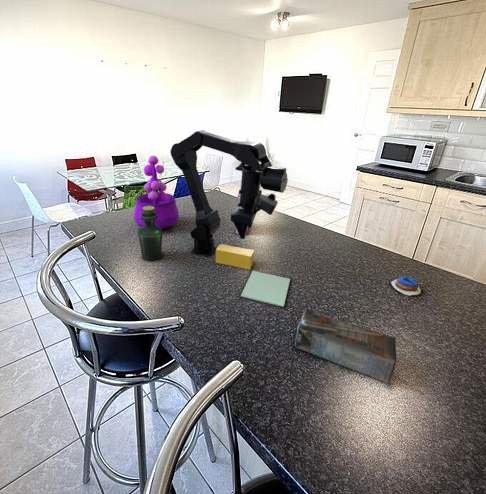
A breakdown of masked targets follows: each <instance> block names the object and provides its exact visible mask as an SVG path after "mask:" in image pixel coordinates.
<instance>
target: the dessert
mask: <svg viewBox="0 0 486 494" xmlns="http://www.w3.org/2000/svg"><path fill="white" fill-rule="evenodd" d="M390 284H391V286H392V287H393V288H394V289H395V290H396V291H398V292H399V293H401V294H403V295H405V296H419V295H420V294H421V293H422V289H421V288H420V284H419V283H418V281H417V279H416V278H412V277H409V276H407V275H405V274H403V275H402V276H399V277H398V278H397V279H396V278H395V279H394V280H392V281H391V283H390Z"/></svg>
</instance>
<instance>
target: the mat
mask: <svg viewBox="0 0 486 494" xmlns="http://www.w3.org/2000/svg"><path fill="white" fill-rule="evenodd" d="M290 282H291V278H289V277H284V276H279V275H274V274H271V273H264V272H261V271H256V270H252V271H251V273H250V275H249V277H248V278H247V281H246V284H245V286H244V288H243V290H242V292H241V293H240V297H241V298H245V299H249V300H253V301H257V302H261V303H265V304H270V305H272V306H277V307H281V308H284V306H285V303H286V300H287V296H288V291H289V287H290Z"/></svg>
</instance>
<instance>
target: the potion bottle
mask: <svg viewBox="0 0 486 494" xmlns="http://www.w3.org/2000/svg"><path fill="white" fill-rule="evenodd" d="M143 212H144V213H142V214H141V217H140V219H141V220H143V221H144V223H145V226H143V227H141V226H140V228H139V229H138V231H137V236H138V241H139V246H140V253H141V256H142V259H144V260H146V261H150V262H153V261H156V260H158V259H160V258H161V257H162V249H163V228H162V229H161V228H160V227H159V226H157V225H154V222H155V220H156V219H158V215H157V213H155V212H154V207H153V206H145V207H143Z"/></svg>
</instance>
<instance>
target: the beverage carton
mask: <svg viewBox="0 0 486 494" xmlns="http://www.w3.org/2000/svg"><path fill="white" fill-rule="evenodd" d="M396 342H397V341H396V337H395V336H391V335H388V334H385V333H382V332H379V331H376V330H372V329H370V328H366V327H364V326H360V325H356V324H354V323H351V322H346V321H343V320H340V319H337V318H334V317H332V316H329V315H324V314H322V313H318V312H317V311H313V310H309V309H307V308H306V309H304V312H303V314H302V316H301V319H300V321H299V323H298V326H297V329H296V336H295V340H294V348H296V349H298V350H301V351H304V352H306V353H309V354H310V355H313V356H316V357H319V358H321V359H324V360H327V361H329V362H332V363H335V364H336V365H339V366H343V367H345V368H347V369H350V370H353V371H355V372H357V373H361V374H363V375H366V376H368V377H371V378H374V379H376V380H379V381H381V382H384V383H386V384H389V383H390V380H391V379H392V376H393V373H394V371H395V367H396V364H397V343H396Z"/></svg>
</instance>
